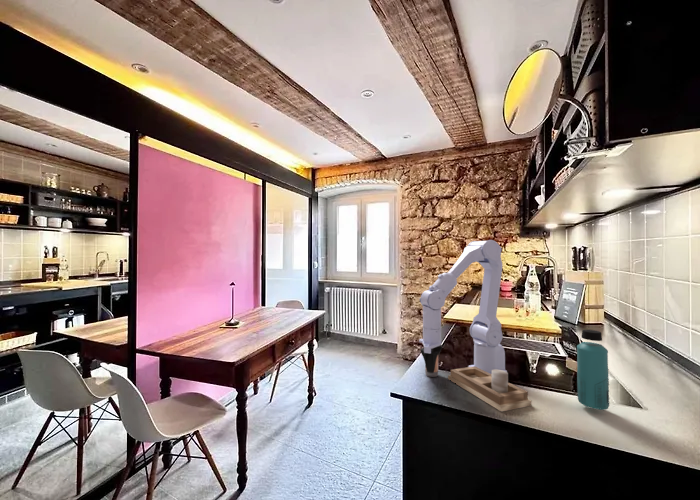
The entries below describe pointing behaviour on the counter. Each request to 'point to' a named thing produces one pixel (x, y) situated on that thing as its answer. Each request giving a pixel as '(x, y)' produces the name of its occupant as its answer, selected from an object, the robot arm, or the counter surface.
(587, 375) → the beverage bottle
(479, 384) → the socket holder
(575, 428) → the counter surface
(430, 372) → the peach rounded capsule
